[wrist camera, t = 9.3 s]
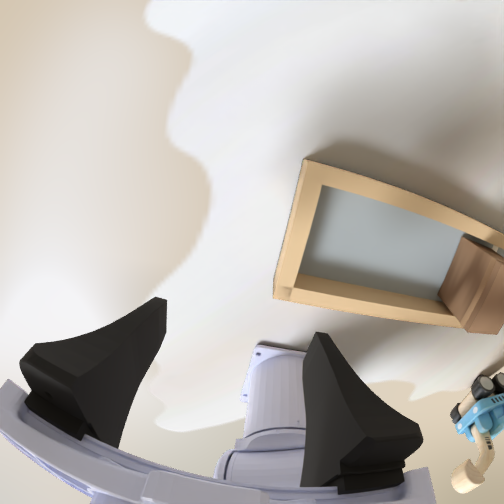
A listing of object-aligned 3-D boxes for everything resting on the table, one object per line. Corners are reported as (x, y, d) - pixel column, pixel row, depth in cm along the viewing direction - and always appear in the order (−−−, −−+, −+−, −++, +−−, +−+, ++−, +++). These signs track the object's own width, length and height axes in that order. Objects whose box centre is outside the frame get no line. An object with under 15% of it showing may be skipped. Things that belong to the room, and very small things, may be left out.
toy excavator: (447, 378, 26) (489, 476, 11) (506, 369, 26) (544, 437, 10) (418, 415, 30) (443, 504, 14) (480, 402, 29) (509, 469, 13)
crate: (467, 301, 21) (497, 335, 15) (436, 294, 21) (466, 332, 15) (491, 248, 19) (527, 275, 13) (461, 235, 19) (501, 263, 13)
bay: (473, 315, 22) (486, 330, 19) (273, 278, 22) (272, 298, 19) (508, 237, 18) (525, 247, 16) (303, 158, 18) (307, 161, 16)
